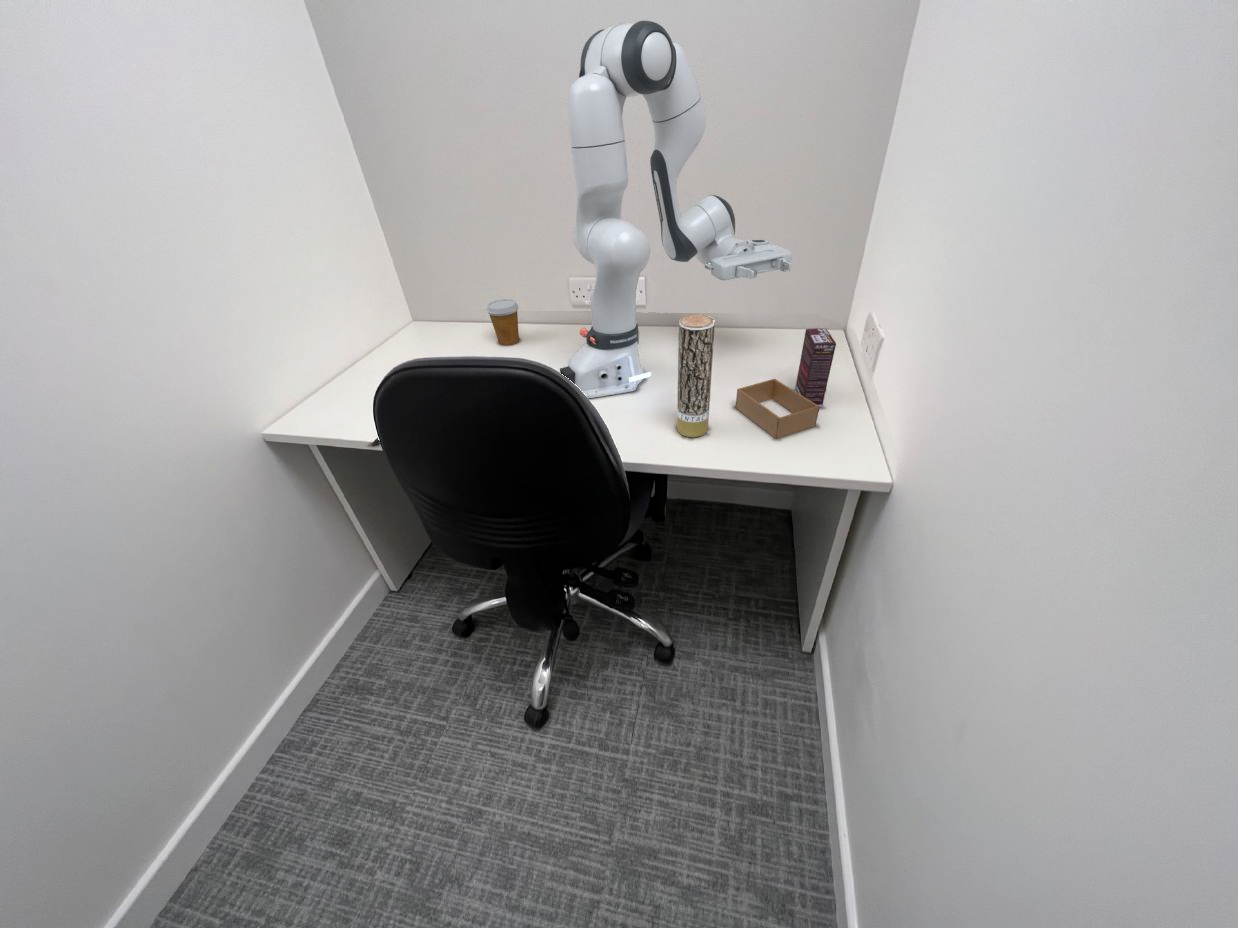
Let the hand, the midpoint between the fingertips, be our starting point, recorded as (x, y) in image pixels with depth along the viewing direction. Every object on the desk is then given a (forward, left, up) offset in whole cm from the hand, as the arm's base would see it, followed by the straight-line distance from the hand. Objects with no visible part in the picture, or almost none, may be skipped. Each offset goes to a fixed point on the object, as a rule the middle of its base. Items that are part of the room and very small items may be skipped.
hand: (771, 271), depth 114 cm
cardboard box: (-10, -19, -26) cm, 34 cm away
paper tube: (-29, -15, -26) cm, 42 cm away
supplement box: (+2, -16, -26) cm, 31 cm away
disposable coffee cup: (-53, +57, -26) cm, 82 cm away
